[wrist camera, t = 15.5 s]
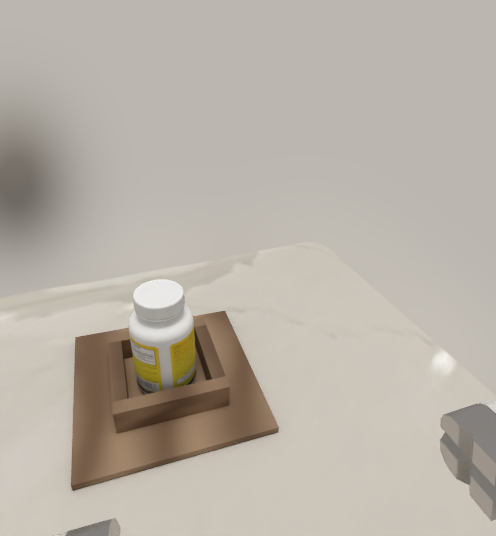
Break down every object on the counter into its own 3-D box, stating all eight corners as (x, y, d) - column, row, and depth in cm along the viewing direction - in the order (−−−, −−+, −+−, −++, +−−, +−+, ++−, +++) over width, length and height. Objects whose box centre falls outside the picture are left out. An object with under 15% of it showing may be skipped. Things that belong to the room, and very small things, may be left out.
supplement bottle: (194, 354, 39) (190, 272, 34) (198, 398, 35) (196, 311, 30) (138, 360, 38) (126, 276, 33) (135, 406, 34) (121, 317, 29)
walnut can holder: (72, 490, 28) (64, 466, 27) (76, 341, 41) (71, 319, 39) (278, 431, 33) (281, 408, 32) (224, 314, 46) (225, 294, 44)
